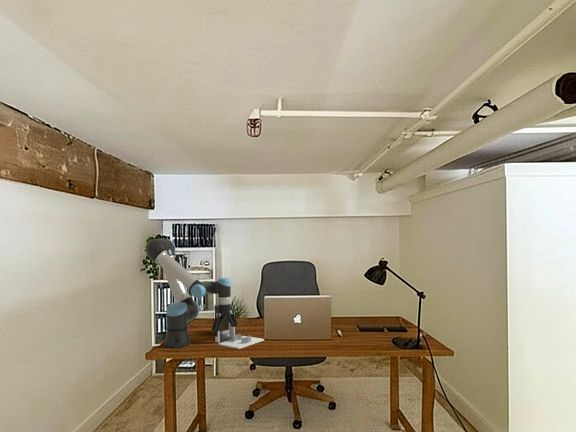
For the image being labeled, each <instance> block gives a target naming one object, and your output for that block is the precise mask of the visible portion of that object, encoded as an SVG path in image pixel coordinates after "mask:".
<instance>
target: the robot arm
mask: <svg viewBox="0 0 576 432" xmlns="http://www.w3.org/2000/svg"><path fill="white" fill-rule="evenodd" d="M144 250H145V255H146V256H147V257H148V258H149V259H150V260H151V261H153V262H154V264H159V265H160V266H161V268H162V270H163V273H164V276H165V278H166V280H167V283H168V285H169V289H170V290H171V293H172V296H173V298H174V302H172V303H170V304H168V305H167V307H166V312H165V313H166V334H165V339H164V341H163V346H164V347H165V346H166V347H165V348H171V347H175V348H183V347H187V346H189V344H190V345H191V344H192V343H191V341H192V339H191V336H190V333H189V330H188V323H189V322H191V321H193V320H195V319H196V318H197V317H198V316H199V314H200V306H199V304H198V302H197V301H195V300H194V299H193V298H195V299H198V298H199V299H200V298H202V297H205V296H207V295H217V298H218V299H217V301H218V303H217V304H219V305H218V310H219V314H215V313H214V320H213V324H212V327H211V331H214V339H215V341H214V342H215V343H221V341H220V335H219V331H218V330H219V328H220V326H221V324H222V322H223V321H224V320H226V319H227V320H228V321H229V323H230V325H231V329H230V333H231V338H232V336H233V335H236V334H235V333H236V327H237V325H238V324H239V323H238V320H237V318H236V315H235V311H234V310H232V304H231V302H232V301H231V297H232V294H231V293H232V292H231V289H232V288H231V285H232V284H231V279H230V278H229V277H219V278H218V279H217V280H216V281H212V280H211V281H207V280H205V281H200V280H199V279H198V278H197V277H195V276H194V275H193V274H192V273H191V272H190V271H189V270H187V269H186V268H185V267H184V266H183V265H181V264H180V263H179V262H178V261H177V260H175V258H176V256H177V255H176V252H175V251H176V245H175V243H174V242H173V241H172V240H171V239H170V238H169V239H168V238H153V239H149V241H148V242H147V243H146V244H145V247H144ZM187 289H188V290H187ZM188 291H190V293H191V295H190V294H189V292H188ZM182 346H183V347H182Z"/></svg>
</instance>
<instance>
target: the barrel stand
mask: <svg viewBox="0 0 576 432" xmlns="http://www.w3.org/2000/svg"><path fill="white" fill-rule="evenodd" d="M263 341H265V339H264V338H259V337H254V336H252V335H248V336H247V335H246V336H245V335H242V334H241V333H238V334H235V335H233V336H232V337H231V340H229V341H221V342H218V344H217V346H220V347H225V348H232V349H237V350H240V349H243V348H246V347H249V346H252V345H254V344H258V343H261V342H263Z"/></svg>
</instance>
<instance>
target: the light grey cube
mask: <svg viewBox="0 0 576 432" xmlns="http://www.w3.org/2000/svg"><path fill="white" fill-rule="evenodd" d="M219 336H220V342H225V341H229V340H232V337H231V331H230V332H229V330H225V331H221V333H220V335H219Z"/></svg>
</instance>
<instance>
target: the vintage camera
mask: <svg viewBox="0 0 576 432" xmlns="http://www.w3.org/2000/svg"><path fill="white" fill-rule="evenodd" d="M218 305H219V303H215V304H214V306H213V309H214V315H215V314H219V310H218ZM225 330H229V332H230V333H231V324H230V323H229V321H228V320H227V319H226V320H224V321H223V322H222V324H221V326H220V328H219V330H218V331H219V336H220V333H221V331H225Z"/></svg>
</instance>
